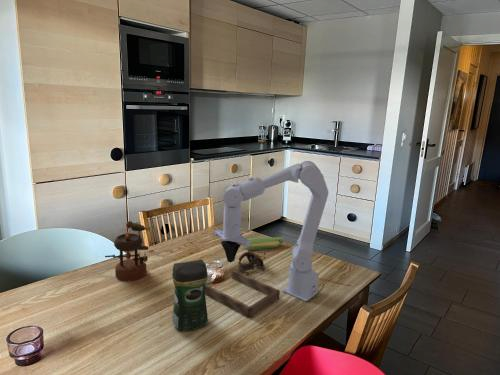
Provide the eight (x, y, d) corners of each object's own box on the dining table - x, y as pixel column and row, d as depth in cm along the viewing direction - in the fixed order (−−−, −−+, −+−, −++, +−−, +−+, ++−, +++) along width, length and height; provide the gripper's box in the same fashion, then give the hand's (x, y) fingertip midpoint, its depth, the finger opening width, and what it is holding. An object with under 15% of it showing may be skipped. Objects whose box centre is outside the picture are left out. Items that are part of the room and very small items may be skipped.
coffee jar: (201, 311, 109) (202, 254, 104) (210, 326, 102) (212, 266, 97) (169, 318, 105) (169, 259, 100) (176, 334, 98) (176, 271, 93)
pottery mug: (268, 276, 134) (260, 261, 130) (244, 285, 134) (236, 270, 130) (263, 255, 144) (255, 240, 140) (241, 264, 145) (233, 249, 141)
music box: (148, 264, 137) (148, 215, 131) (153, 280, 128) (153, 228, 121) (105, 270, 131) (102, 219, 125) (106, 287, 121) (104, 232, 115)
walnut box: (279, 298, 118) (279, 290, 117) (249, 318, 107) (250, 309, 106) (233, 277, 130) (234, 270, 129) (202, 293, 119) (203, 285, 118)
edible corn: (241, 238, 157) (245, 239, 152) (283, 235, 163) (288, 236, 159) (241, 250, 156) (245, 251, 152) (283, 247, 163) (288, 248, 159)
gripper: (207, 220, 120) (207, 258, 124) (240, 231, 112) (239, 272, 115) (222, 215, 126) (221, 252, 129) (255, 226, 117) (253, 264, 120)
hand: (230, 261), depth 122 cm, fingers closed
